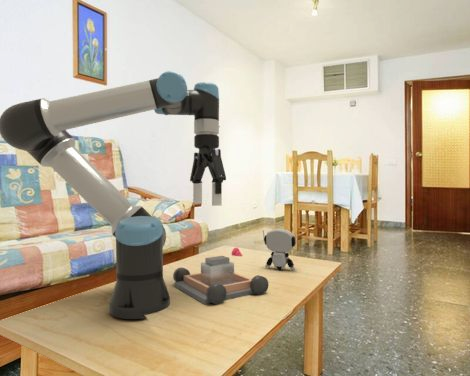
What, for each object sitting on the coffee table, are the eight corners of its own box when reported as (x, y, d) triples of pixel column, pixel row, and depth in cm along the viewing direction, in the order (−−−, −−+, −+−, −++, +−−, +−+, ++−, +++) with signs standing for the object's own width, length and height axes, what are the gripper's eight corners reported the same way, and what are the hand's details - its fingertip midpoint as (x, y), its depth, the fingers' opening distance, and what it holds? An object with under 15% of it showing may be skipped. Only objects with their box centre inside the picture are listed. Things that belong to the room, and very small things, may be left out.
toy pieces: (223, 260, 145) (223, 250, 145) (237, 255, 155) (237, 246, 155) (248, 263, 139) (248, 252, 139) (261, 258, 148) (261, 248, 148)
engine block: (210, 289, 99) (210, 261, 99) (201, 284, 104) (200, 257, 104) (234, 284, 103) (234, 257, 103) (224, 280, 108) (223, 254, 108)
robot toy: (298, 270, 125) (298, 228, 125) (295, 273, 121) (294, 230, 121) (266, 267, 131) (266, 227, 131) (262, 269, 127) (261, 228, 127)
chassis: (208, 306, 88) (208, 286, 88) (171, 284, 108) (171, 268, 108) (269, 292, 99) (269, 275, 99) (226, 275, 119) (226, 260, 119)
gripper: (237, 130, 97) (237, 206, 97) (200, 140, 119) (200, 202, 119) (213, 127, 93) (213, 206, 93) (180, 139, 115) (180, 203, 115)
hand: (206, 204), depth 106 cm, fingers open, 13 cm apart
